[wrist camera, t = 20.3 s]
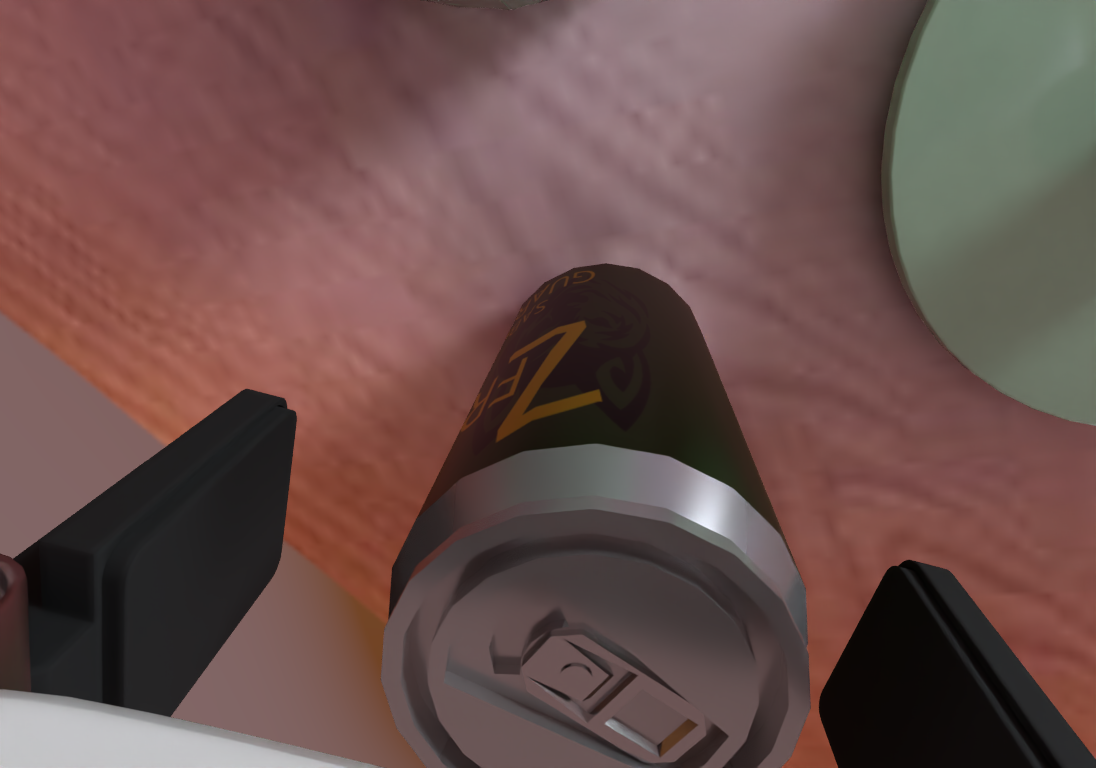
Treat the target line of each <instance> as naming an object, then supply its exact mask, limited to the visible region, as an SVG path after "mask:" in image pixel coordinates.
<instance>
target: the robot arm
mask: <svg viewBox="0 0 1096 768" xmlns="http://www.w3.org/2000/svg"><path fill="white" fill-rule="evenodd" d="M296 422H297V416H296V412H295V411H294V410H290V409H287V403H286V400H285V399H284V398H281V397H277V396H273V395H269V394H266V393H262V392H258V391H254V390H250V389H245V390H243V391H241V392H240V393H238V394H237V395H236V396H234V397H233V398H232V399H230V400H229V401H227V402H226V403H225V404H223V405H222V406H221V407H219V408H218V409H217V410H215V411H214V412H213V413H211V414H210V415H208V416H207V417H206V418H204V419H203V420H202V421H200V422H199V423H198V424H196V425H195V426H193V427H192V428H191V429H189V430H188V431H187V432H185V433H184V434H183V435H181V436H180V437H179V438H177V439H176V440H174V441H173V442H172V443H170V444H169V445H168V446H166V447H165V448H164V449H162V450H161V451H160V452H158V453H157V454H155V455H154V456H153V457H151V458H150V459H149V460H147V461H146V462H144V463H143V464H141V465H140V466H139V467H137V468H136V469H135V470H133V471H132V472H131V473H129V474H128V475H126V476H125V477H124V478H122V479H121V480H120V481H118V482H117V483H116V484H114V485H113V486H111V487H110V488H109V489H107V490H106V491H105V492H103V493H102V494H101V495H99V496H98V497H96V498H95V499H94V500H92V501H91V502H90V503H88V504H87V505H86V506H84V507H83V508H82V509H80V510H79V511H77V512H76V513H75V514H73V515H72V516H71V517H69V518H68V519H67V520H65V521H64V522H62V523H61V524H60V525H58V526H57V527H56V528H54V529H53V530H52V531H50V532H49V533H48V534H46V535H45V536H44V537H42V538H41V539H39V540H38V541H37V542H35V543H34V544H33V545H31V546H30V547H28V548H27V549H26V550H24V551H23V552H22V553H20V554H19V555H18V556H16V557H15V558H14V559H12V558H11V557H9V556H6V555H3V554H0V768H384V767H380V766H376V765H372V764H368V763H363V762H359V761H355V760H351V759H347V758H343V757H339V756H335V755H331V754H327V753H323V752H318V751H314V750H310V749H306V748H302V747H298V746H294V745H289V744H286V743H281V742H277V741H273V740H268V739H264V738H260V737H255V736H251V735H247V734H243V733H238V732H234V731H230V730H225V729H221V728H216V727H212V726H208V725H204V724H199V723H195V722H191V721H186V720H182V719H177V718H172V717H171V715H172V714H173V712H174V711H175V710H176V708H177V707H178V706H179V704H180V703H181V702H182V700H183V699H184V698H185V696H186V695H187V693H188V692H189V690H190V689H191V688H192V687H193V685H194V684H195V683H196V681H197V680H198V678H199V677H200V676H201V674H202V673H203V671H204V670H205V669H206V668H207V666H208V665H209V663H210V662H211V661H212V659H213V658H214V657H215V655H216V654H217V652H218V651H219V650H220V648H221V647H222V645H223V644H224V643H225V642H226V640H227V639H228V637H229V636H230V635H231V633H232V632H233V631H234V629H235V628H236V627H237V625H238V624H239V623H240V621H241V620H242V618H243V617H244V616H245V614H246V613H247V612H248V610H249V609H250V608H251V606H252V605H253V603H254V602H255V601H256V599H257V598H258V597H259V595H260V594H261V592H262V591H263V590H264V588H265V587H266V586H267V584H268V583H269V582H270V580H271V579H272V577H273V576H274V574H275V572H276V570H277V567H278V564H279V561H280V558H281V552H282V543H283V535H284V526H285V517H286V509H287V500H288V491H289V483H290V474H291V465H292V457H293V448H294V439H295V431H296ZM819 714H820V718H821V721H822V724H823V726H824V729H825V732H826V735H827V738H828V740H829V743H830V746H831V749H832V751H833V754H834V757H835V760H836V762H837V765H838V768H1096V759H1095V758H1094V757H1093V755H1092V754H1091V753H1090V752H1089V750H1088V749H1087V748H1086V746H1085V745H1084V744H1083V742H1082V741H1081V740H1080V739H1079V737H1078V736H1077V735H1076V733H1075V732H1074V731H1073V729H1072V728H1071V727H1070V726H1069V724H1068V723H1067V722H1066V720H1065V719H1064V718H1063V717H1062V715H1061V714H1060V713H1059V711H1058V710H1057V709H1056V707H1055V706H1054V705H1053V704H1052V702H1051V701H1050V700H1049V698H1048V697H1047V696H1046V694H1045V693H1044V692H1043V691H1042V689H1041V688H1040V687H1039V685H1038V684H1037V683H1036V681H1035V680H1034V679H1033V678H1032V676H1031V675H1030V674H1029V672H1028V671H1027V670H1026V668H1025V667H1024V666H1023V665H1022V663H1021V662H1020V661H1019V659H1018V658H1017V657H1016V656H1015V654H1014V653H1013V652H1012V650H1011V649H1010V648H1009V646H1008V645H1007V644H1006V643H1005V641H1004V640H1003V639H1002V637H1001V636H1000V635H999V633H998V632H997V631H996V630H995V628H994V627H993V626H992V624H991V623H990V622H989V620H988V619H987V618H986V617H985V615H984V614H983V613H982V611H981V610H980V609H979V608H978V606H977V605H976V604H975V602H974V601H973V600H972V598H971V597H970V596H969V595H968V593H967V592H966V591H965V589H964V588H963V587H962V585H961V584H960V583H959V582H958V580H957V579H956V578H955V576H954V575H953V574H952V573H951V572H950V571H949V570H947V569H943V568H940V567H936V566H932V565H928V564H924V563H920V562H916V561H912V560H906V561H904V562H902V563H901V564H900V565H899V566H892V567H890V568H889V569H888V570H887V571H886V573H885V574H884V576H883V578H882V580H881V582H880V584H879V586H878V588H877V589H876V591H875V593H874V595H873V597H872V599H871V601H870V603H869V604H868V606H867V608H866V610H865V612H864V614H863V616H862V618H861V619H860V621H859V623H858V625H857V627H856V629H855V631H854V632H853V634H852V636H851V638H850V640H849V642H848V644H847V646H846V647H845V649H844V651H843V653H842V655H841V657H840V659H839V661H838V662H837V664H836V666H835V668H834V670H833V672H832V674H831V676H830V677H829V679H828V681H827V683H826V685H825V687H824V689H823V691H822V693H821V696H820V700H819Z"/></svg>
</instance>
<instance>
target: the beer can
mask: <svg viewBox="0 0 1096 768" xmlns="http://www.w3.org/2000/svg"><path fill="white" fill-rule="evenodd" d="M807 645H808V634H807V608H806V588H805V586H804V583H803V581H802V578H801V576H800V573H799V571H798V568H797V566H796V563H795V561H794V559H793V556H792V554H791V551H790V549H789V546H788V544H787V541H786V539H785V536H784V534H783V531H782V529H781V527H780V524H779V522H778V519H777V517H776V514H775V512H774V509H773V507H772V504H771V502H770V499H769V497H768V494H767V492H766V490H765V487H764V485H763V482H762V480H761V477H760V475H759V472H758V470H757V467H756V465H755V462H754V460H753V458H752V455H751V453H750V450H749V448H748V445H747V443H746V440H745V438H744V435H743V433H742V430H741V428H740V426H739V423H738V421H737V418H736V416H735V413H734V411H733V408H732V406H731V403H730V401H729V398H728V396H727V393H726V391H725V389H724V386H723V384H722V381H721V379H720V376H719V374H718V371H717V369H716V366H715V364H714V361H713V359H712V357H711V354H710V352H709V349H708V347H707V344H706V342H705V339H704V337H703V334H702V332H701V330H700V328H699V326H698V323H697V321H696V319H695V317H694V315H693V313H692V310H691V308H690V306H689V305H688V304H687V303H686V302H685V301H684V300H683V299H682V298H681V297H680V296H679V295H678V294H677V293H676V292H675V291H674V290H673V289H672V288H671V287H670V286H669V285H668V284H667V283H665V282H663V281H661V280H659V279H657V278H656V277H654V276H652V275H650V274H648V273H646V272H644V271H642V270H640V269H637V268H631V267H625V266H619V265H613V264H607V263H605V264H599V265H592V266H585V267H578V268H573V269H571V270H569V271H567V272H565V273H563V274H561V275H559V276H557V277H555V278H553V279H551V280H549V281H547V282H545V283H544V284H543V285H542V286H541V287H540V288H539V289H538V290H537V291H536V292H535V293H534V294H533V295H532V296H531V297H530V298H529V299H528V300H527V301H526V302H525V303H524V304H523V305H522V307H521V309H520V311H519V313H518V315H517V317H516V319H515V321H514V323H513V325H512V327H511V329H510V331H509V333H508V335H507V337H506V339H505V341H504V343H503V345H502V347H501V349H500V351H499V353H498V355H497V357H496V359H495V361H494V363H493V365H492V367H491V369H490V371H489V373H488V375H487V377H486V379H485V381H484V383H483V385H482V387H481V389H480V391H479V393H478V395H477V397H476V399H475V401H474V403H473V406H472V408H471V410H470V412H469V414H468V416H467V418H466V420H465V422H464V424H463V426H462V428H461V430H460V432H459V434H458V436H457V438H456V440H455V442H454V444H453V446H452V448H451V450H450V452H449V454H448V456H447V458H446V460H445V462H444V464H443V466H442V468H441V470H440V472H439V474H438V476H437V478H436V480H435V482H434V484H433V486H432V488H431V490H430V492H429V494H428V496H427V498H426V500H425V503H424V505H423V507H422V509H421V511H420V513H419V515H418V517H417V519H416V521H415V523H414V525H413V527H412V529H411V531H410V533H409V535H408V537H407V539H406V541H405V543H404V545H403V547H402V549H401V551H400V553H399V555H398V557H397V559H396V561H395V563H394V565H393V567H392V577H391V591H390V605H389V618H388V622H387V624H386V627H385V629H384V642H383V656H382V671H381V682H382V684H383V688H384V691H385V694H386V697H387V700H388V703H389V706H390V709H391V712H392V715H393V718H394V721H395V724H396V727H397V729H398V731H399V732H400V733H401V735H402V736H403V737H404V739H406V741H407V742H408V744H409V745H410V746H411V747H412V749H413V750H414V752H415V753H416V754H417V756H418V757H419V758H420V760H421V761H422V762H423V764H424V765H425V766H426V768H781V767H782V766H783V765H784V764H785V763H786V762H787V761H788V760H789V758H790V757H791V756H792V753H793V751H794V748H795V746H796V743H797V741H798V738H799V736H800V733H801V731H802V728H803V726H804V723H805V721H806V718H807V716H808V713H809V711H810V708H811V705H810V679H809V654H808V651H807Z"/></svg>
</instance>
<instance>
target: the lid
mask: <svg viewBox="0 0 1096 768" xmlns="http://www.w3.org/2000/svg"><path fill="white" fill-rule="evenodd" d="M881 183H882V206H883V216H884V222H885V227H886V232H887V238H888V243H889V248H890V252H891V255H892V258H893V261H894V264H895V267H896V269H897V272H898V275H899V278H900V281H901V284H902V286H903V288H904V290H905V292H906V294H907V295H908V297H909V299H910V301H911V303H912V305H913V307H914V309H915V310H916V312H917V314H918V316H919V317H920V319H921V320H922V321H923V323H924V324H925V325H926V327H927V328H928V329H929V330H930V332H931V333H932V334H933V336H934V337H935V338H936V340H937V341H938V342H939V344H941V345H942V346H943V347H944V348H945V349H946V350H947V351H948V352H949V353H950V354H951V355H952V356H953V357H954V358H955V359H956V360H957V361H958V362H959V363H960V364H961V365H962V366H963V367H965V368H966V369H968V370H969V371H970V372H972V373H973V374H975V375H976V376H978V377H979V378H980V379H982V380H983V381H985V382H986V383H988V384H989V385H990V386H992V387H993V388H995V389H996V390H998V391H999V392H1000V393H1002V394H1004V395H1006V396H1008V397H1010V398H1012V399H1014V400H1016V401H1018V402H1020V403H1022V404H1024V405H1026V406H1028V407H1030V408H1032V409H1035V410H1038V411H1041V412H1044V413H1047V414H1050V415H1053V416H1056V417H1059V418H1062V419H1065V420H1068V421H1073V422H1078V423H1083V424H1088V425H1093V426H1096V0H928V1H927V3H926V5H925V7H924V10H923V12H922V14H921V16H920V18H919V20H918V22H917V24H916V27H915V29H914V31H913V33H912V35H911V37H910V40H909V43H908V46H907V49H906V52H905V55H904V58H903V61H902V64H901V67H900V69H899V72H898V75H897V78H896V81H895V84H894V89H893V94H892V98H891V103H890V107H889V112H888V117H887V121H886V126H885V133H884V144H883V155H882V167H881Z"/></svg>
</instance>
